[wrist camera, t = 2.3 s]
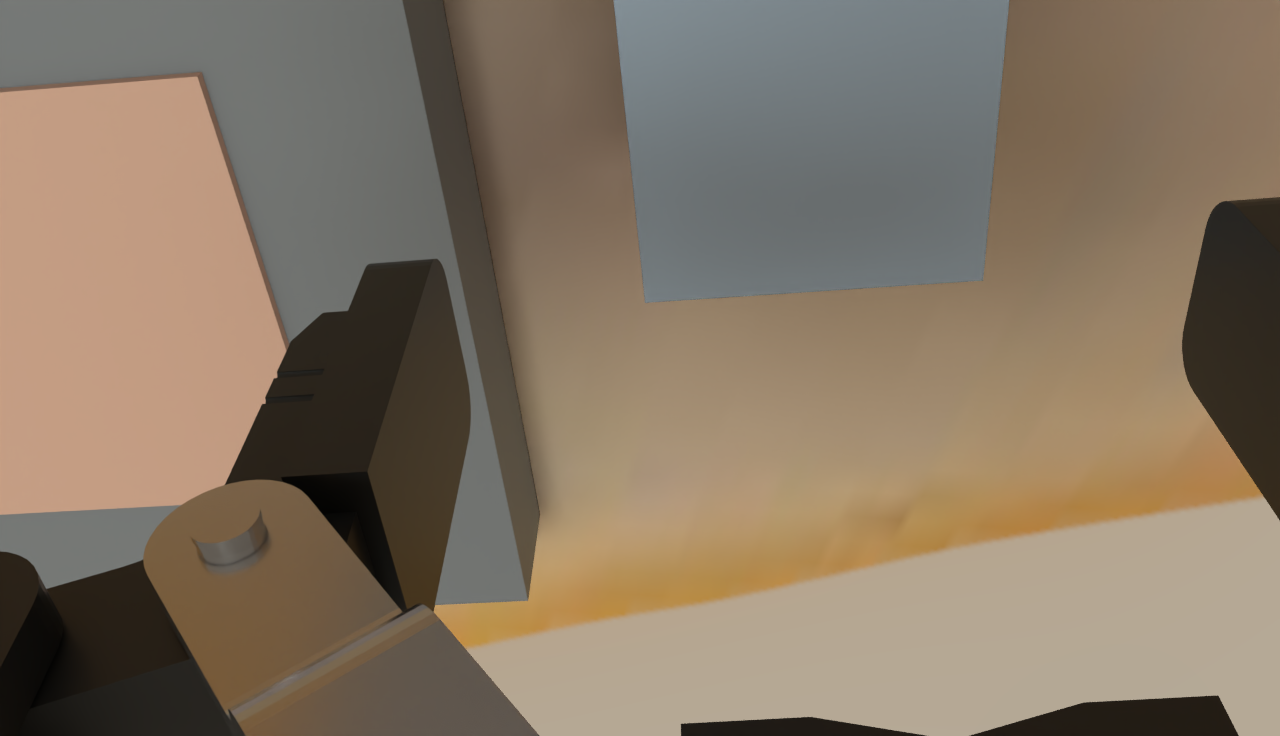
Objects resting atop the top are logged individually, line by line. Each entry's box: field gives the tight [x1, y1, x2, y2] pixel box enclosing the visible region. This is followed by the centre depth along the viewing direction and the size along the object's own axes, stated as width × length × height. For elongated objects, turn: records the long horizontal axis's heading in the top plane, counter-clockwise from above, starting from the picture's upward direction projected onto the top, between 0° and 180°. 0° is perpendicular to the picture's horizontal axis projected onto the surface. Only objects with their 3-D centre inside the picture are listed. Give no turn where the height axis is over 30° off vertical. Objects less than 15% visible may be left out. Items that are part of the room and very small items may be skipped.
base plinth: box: [0, 0, 540, 605], centre depth 23 cm, size 16×16×3 cm
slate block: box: [614, 0, 1009, 303], centre depth 18 cm, size 5×5×6 cm
